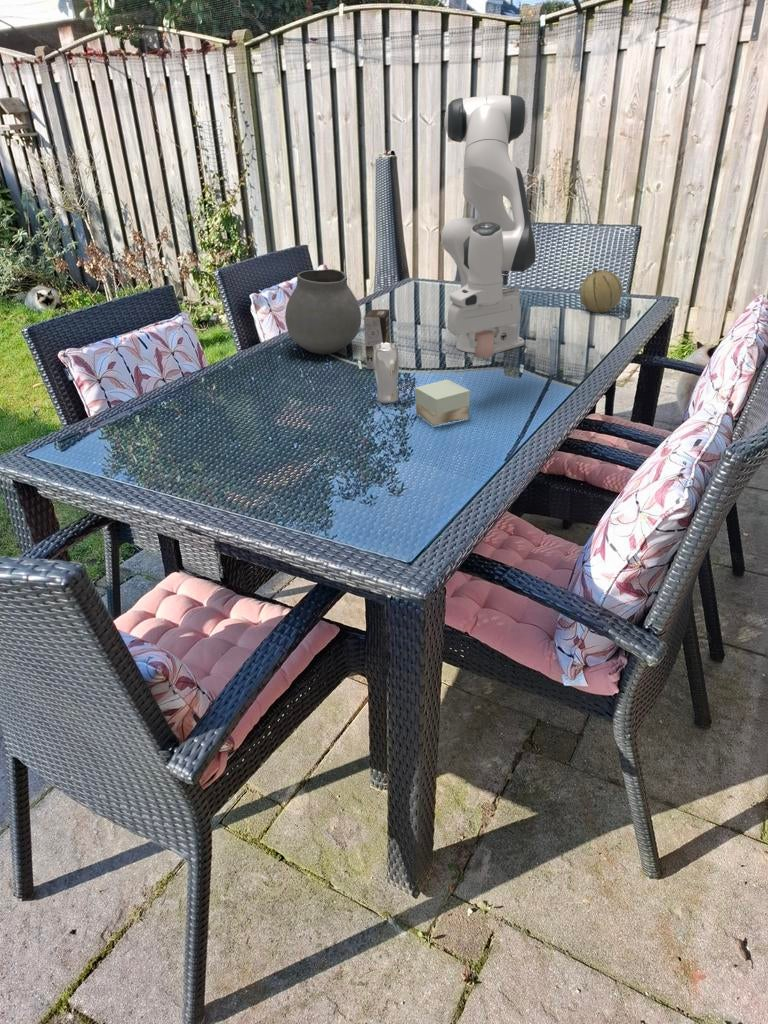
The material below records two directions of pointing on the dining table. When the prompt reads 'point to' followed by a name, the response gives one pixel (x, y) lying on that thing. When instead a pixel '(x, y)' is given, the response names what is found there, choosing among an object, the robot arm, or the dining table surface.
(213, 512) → the dining table surface
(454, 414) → the tower base
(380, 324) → the coffee box
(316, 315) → the ceramic pot
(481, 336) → the rose cylinder
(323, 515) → the dining table surface
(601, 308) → the cantaloupe
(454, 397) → the tower top
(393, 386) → the beer glass
